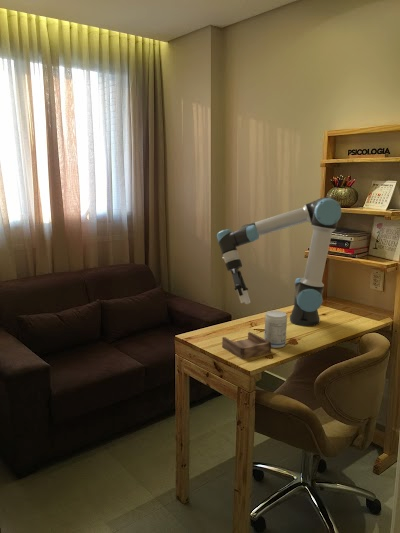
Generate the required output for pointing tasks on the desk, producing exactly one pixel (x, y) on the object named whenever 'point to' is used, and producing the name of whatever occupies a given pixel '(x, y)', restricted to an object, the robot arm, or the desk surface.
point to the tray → (247, 346)
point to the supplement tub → (276, 328)
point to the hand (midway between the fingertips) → (246, 303)
